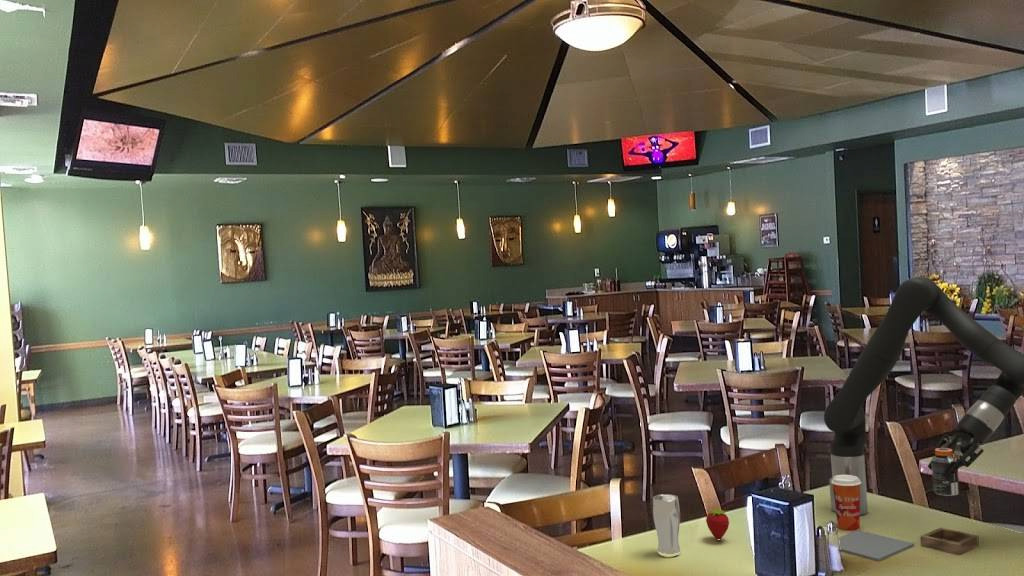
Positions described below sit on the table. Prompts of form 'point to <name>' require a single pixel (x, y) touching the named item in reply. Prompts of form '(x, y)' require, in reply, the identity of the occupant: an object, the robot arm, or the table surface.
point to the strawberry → (717, 523)
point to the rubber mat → (872, 545)
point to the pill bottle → (940, 481)
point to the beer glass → (667, 522)
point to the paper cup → (847, 501)
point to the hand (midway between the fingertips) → (938, 472)
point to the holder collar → (962, 539)
